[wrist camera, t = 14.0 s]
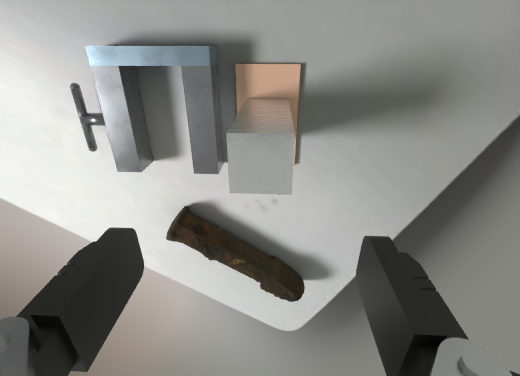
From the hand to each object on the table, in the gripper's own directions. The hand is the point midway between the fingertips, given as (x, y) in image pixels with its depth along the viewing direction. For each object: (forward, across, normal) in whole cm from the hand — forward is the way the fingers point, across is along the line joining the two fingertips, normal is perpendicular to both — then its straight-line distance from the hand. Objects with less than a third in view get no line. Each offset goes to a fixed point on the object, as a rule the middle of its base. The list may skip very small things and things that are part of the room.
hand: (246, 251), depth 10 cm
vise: (+21, +12, -1) cm, 24 cm away
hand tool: (+21, +2, +17) cm, 27 cm away
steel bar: (+20, 0, 0) cm, 20 cm away
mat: (+20, 0, 0) cm, 21 cm away
